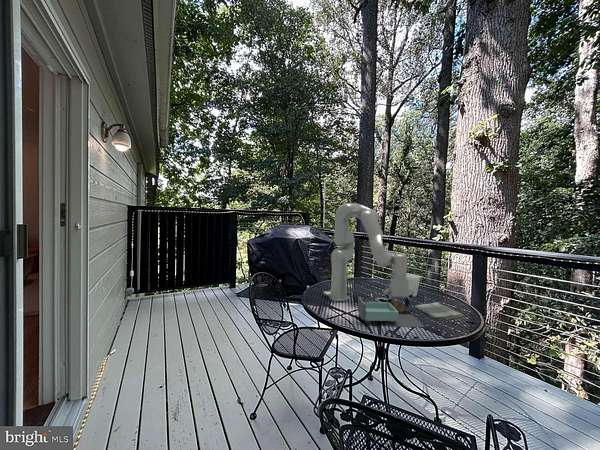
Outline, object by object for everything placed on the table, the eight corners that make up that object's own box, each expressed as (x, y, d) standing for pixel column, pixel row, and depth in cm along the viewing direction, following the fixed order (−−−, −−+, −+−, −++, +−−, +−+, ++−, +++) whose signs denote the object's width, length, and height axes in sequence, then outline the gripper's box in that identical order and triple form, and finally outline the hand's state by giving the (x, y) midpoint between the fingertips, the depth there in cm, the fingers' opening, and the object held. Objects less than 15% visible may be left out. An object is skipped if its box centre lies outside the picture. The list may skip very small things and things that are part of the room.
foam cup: (411, 298, 191) (412, 278, 190) (400, 293, 200) (401, 274, 199) (422, 296, 196) (423, 276, 195) (410, 292, 204) (412, 273, 203)
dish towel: (435, 320, 156) (436, 314, 156) (414, 308, 173) (414, 303, 173) (464, 318, 161) (465, 312, 160) (440, 306, 178) (441, 301, 178)
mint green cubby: (363, 324, 146) (363, 305, 145) (356, 314, 160) (357, 296, 159) (397, 325, 146) (399, 305, 145) (388, 314, 160) (389, 296, 159)
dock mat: (388, 326, 145) (388, 326, 145) (378, 314, 161) (378, 313, 161) (425, 327, 145) (425, 327, 145) (411, 314, 162) (411, 314, 162)
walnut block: (394, 312, 165) (394, 303, 164) (391, 309, 170) (391, 300, 169) (403, 312, 165) (403, 303, 164) (399, 309, 170) (400, 300, 169)
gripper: (386, 277, 162) (385, 308, 163) (417, 277, 162) (416, 308, 163) (381, 274, 169) (380, 303, 170) (412, 274, 170) (410, 304, 171)
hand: (398, 306), depth 167 cm, fingers open, 9 cm apart
